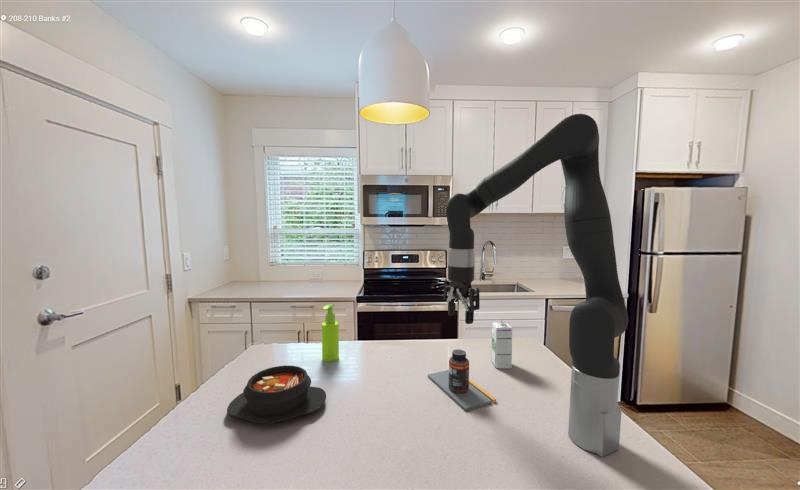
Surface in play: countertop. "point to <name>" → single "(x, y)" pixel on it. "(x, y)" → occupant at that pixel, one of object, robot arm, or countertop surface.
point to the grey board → (467, 399)
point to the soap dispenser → (330, 336)
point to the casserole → (277, 396)
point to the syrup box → (501, 345)
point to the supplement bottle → (458, 372)
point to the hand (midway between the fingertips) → (459, 319)
